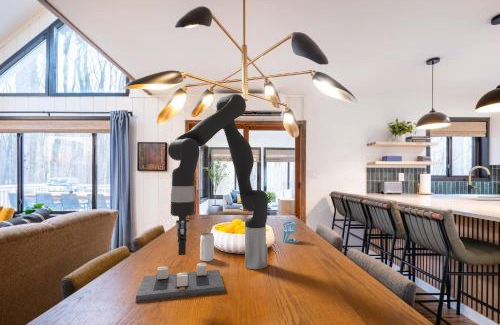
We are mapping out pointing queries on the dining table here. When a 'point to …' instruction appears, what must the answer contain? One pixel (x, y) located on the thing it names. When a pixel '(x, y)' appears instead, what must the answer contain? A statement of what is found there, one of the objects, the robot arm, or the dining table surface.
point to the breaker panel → (168, 287)
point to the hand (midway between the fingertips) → (182, 254)
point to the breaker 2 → (201, 269)
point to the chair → (289, 232)
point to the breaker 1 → (162, 272)
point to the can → (206, 247)
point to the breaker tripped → (182, 279)
